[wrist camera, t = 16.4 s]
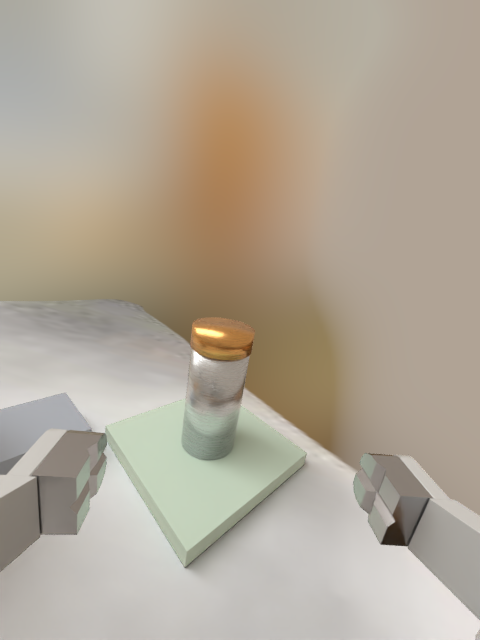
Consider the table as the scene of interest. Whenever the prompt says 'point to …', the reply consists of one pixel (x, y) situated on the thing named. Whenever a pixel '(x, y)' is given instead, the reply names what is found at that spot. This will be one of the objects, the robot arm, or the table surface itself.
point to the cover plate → (34, 425)
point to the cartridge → (215, 386)
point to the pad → (200, 474)
